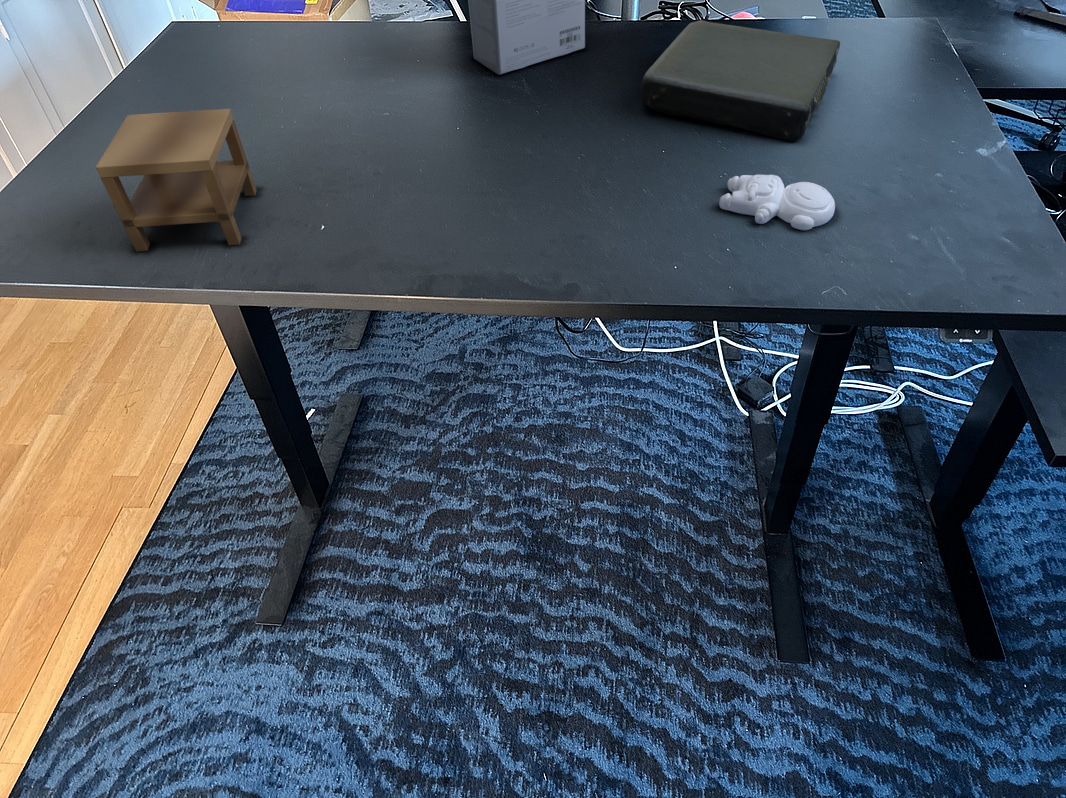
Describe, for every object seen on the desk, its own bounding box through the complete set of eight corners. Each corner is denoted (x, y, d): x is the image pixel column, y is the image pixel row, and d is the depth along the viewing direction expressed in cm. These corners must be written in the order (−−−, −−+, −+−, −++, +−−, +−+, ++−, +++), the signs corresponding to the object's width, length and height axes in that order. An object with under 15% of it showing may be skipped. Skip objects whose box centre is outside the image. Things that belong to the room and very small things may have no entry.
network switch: (822, 147, 93) (832, 108, 90) (632, 123, 99) (635, 85, 95) (834, 67, 108) (843, 30, 105) (669, 50, 114) (672, 14, 110)
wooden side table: (136, 251, 82) (94, 167, 75) (162, 196, 90) (127, 114, 83) (239, 244, 83) (208, 159, 76) (257, 190, 90) (230, 108, 83)
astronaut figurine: (734, 176, 89) (738, 152, 87) (839, 198, 86) (847, 174, 83) (711, 214, 84) (715, 190, 82) (823, 240, 80) (830, 215, 78)
